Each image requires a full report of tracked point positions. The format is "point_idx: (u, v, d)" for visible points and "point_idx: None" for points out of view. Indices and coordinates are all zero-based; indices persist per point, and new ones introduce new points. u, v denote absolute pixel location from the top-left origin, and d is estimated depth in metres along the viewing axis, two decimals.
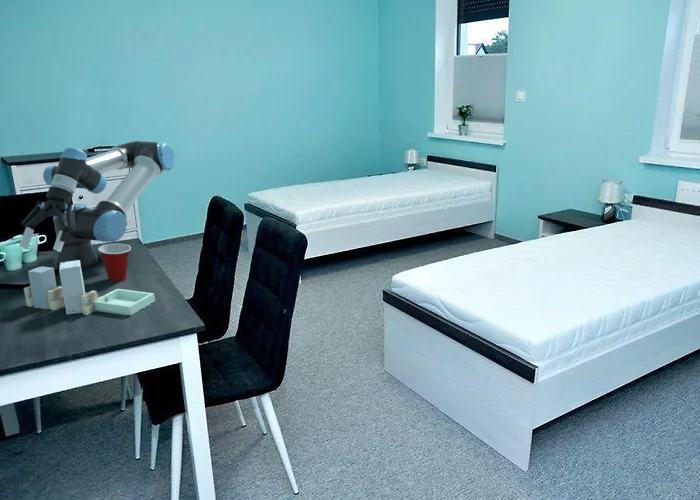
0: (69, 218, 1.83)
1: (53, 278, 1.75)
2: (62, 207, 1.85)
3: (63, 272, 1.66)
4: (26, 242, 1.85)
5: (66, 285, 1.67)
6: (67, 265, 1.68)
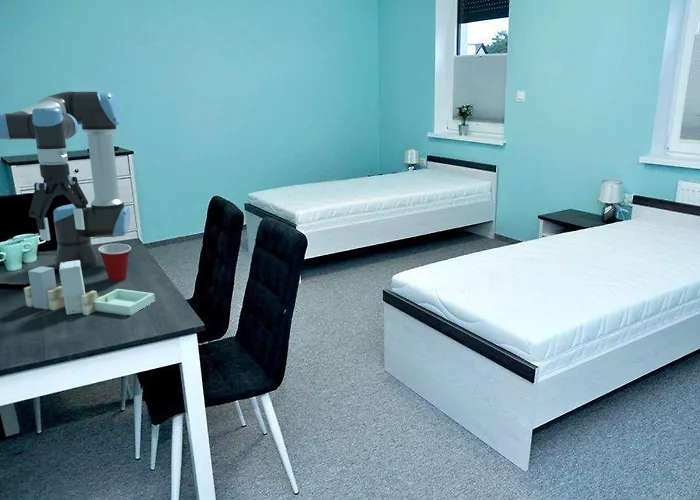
0: (82, 193, 1.71)
1: (53, 278, 1.75)
2: (69, 183, 1.65)
3: (63, 272, 1.66)
4: None
5: (66, 285, 1.67)
6: (67, 265, 1.68)
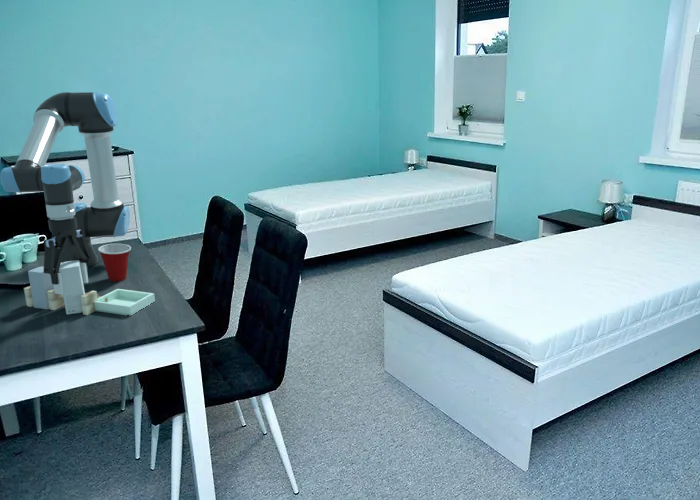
0: (87, 246, 1.75)
1: None
2: (76, 235, 1.70)
3: (63, 272, 1.65)
4: None
5: (65, 285, 1.67)
6: (66, 265, 1.68)
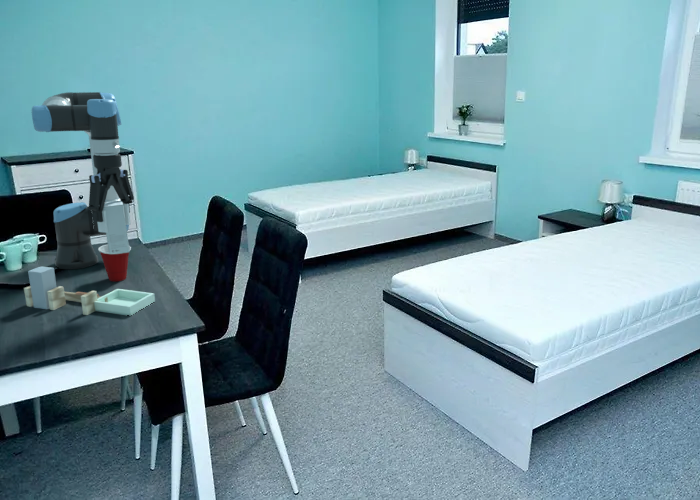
0: (130, 187, 1.72)
1: (53, 278, 1.75)
2: (119, 174, 1.67)
3: (107, 210, 1.63)
4: None
5: (110, 224, 1.64)
6: (110, 204, 1.65)
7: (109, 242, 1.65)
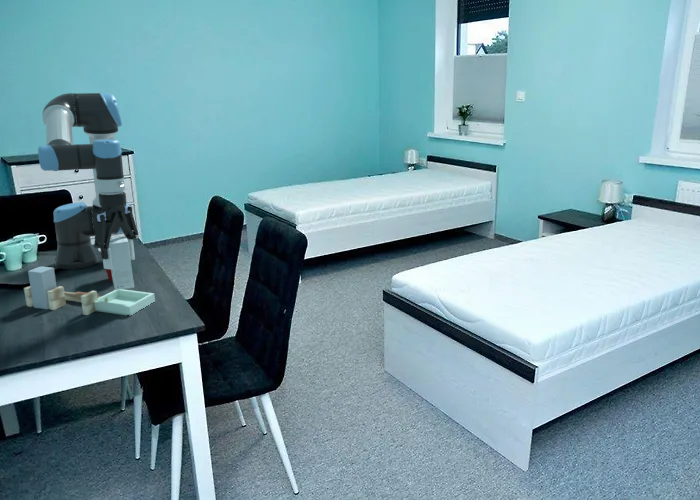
0: (134, 223, 1.75)
1: (53, 278, 1.75)
2: (124, 211, 1.71)
3: (112, 247, 1.66)
4: None
5: (115, 260, 1.67)
6: (115, 241, 1.69)
7: (114, 278, 1.68)
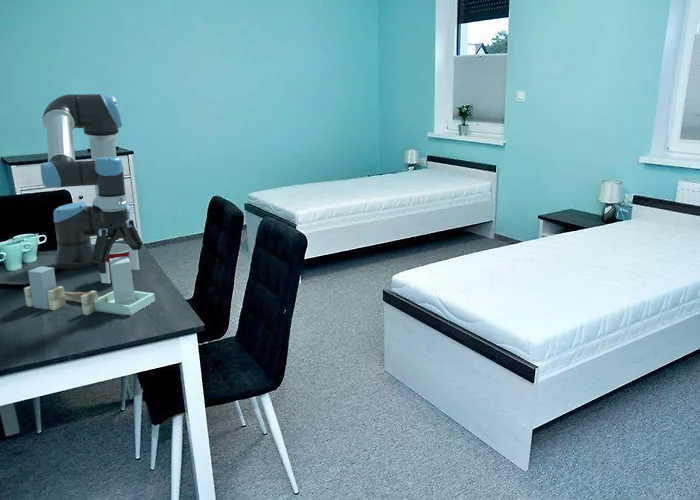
0: (137, 235, 1.77)
1: (53, 278, 1.75)
2: (126, 227, 1.72)
3: (114, 268, 1.68)
4: None
5: (117, 281, 1.69)
6: (117, 261, 1.70)
7: (116, 298, 1.70)
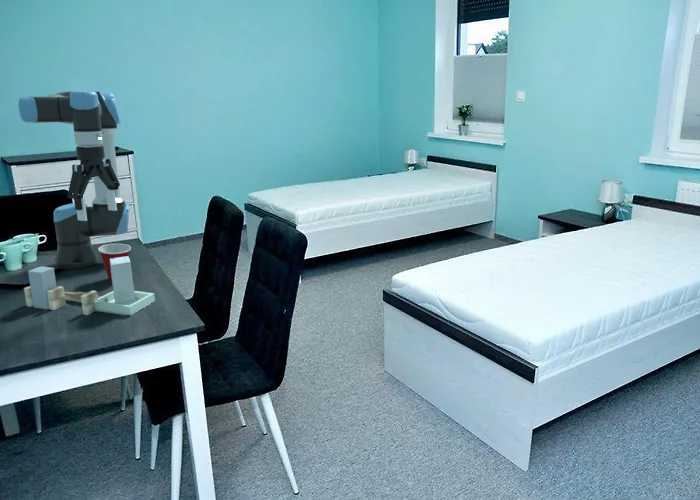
0: (114, 175, 1.75)
1: (53, 278, 1.75)
2: (103, 165, 1.70)
3: (115, 267, 1.68)
4: None
5: (117, 281, 1.69)
6: (118, 261, 1.70)
7: (116, 298, 1.70)
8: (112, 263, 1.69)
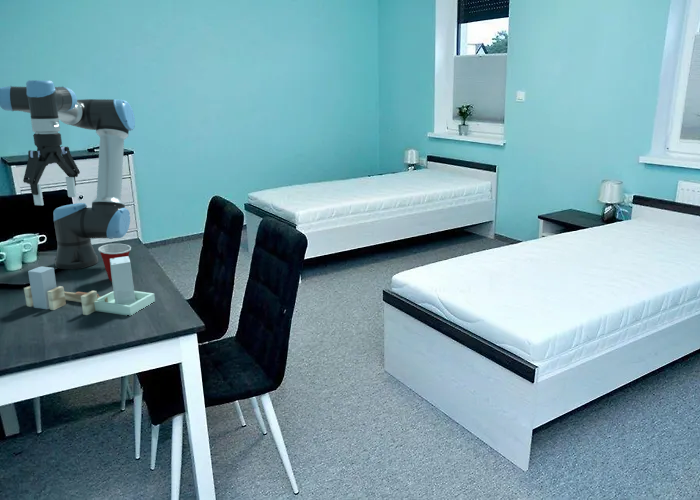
0: (74, 162, 1.81)
1: (53, 278, 1.75)
2: (61, 152, 1.75)
3: (115, 268, 1.68)
4: None
5: (117, 281, 1.69)
6: (118, 261, 1.70)
7: (116, 298, 1.70)
8: (112, 263, 1.69)
